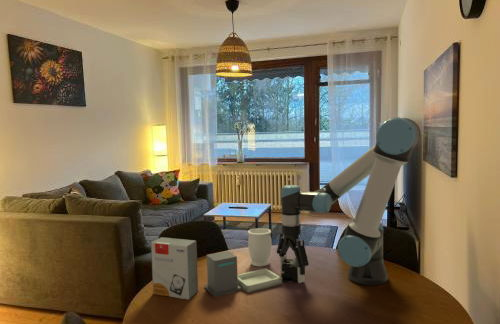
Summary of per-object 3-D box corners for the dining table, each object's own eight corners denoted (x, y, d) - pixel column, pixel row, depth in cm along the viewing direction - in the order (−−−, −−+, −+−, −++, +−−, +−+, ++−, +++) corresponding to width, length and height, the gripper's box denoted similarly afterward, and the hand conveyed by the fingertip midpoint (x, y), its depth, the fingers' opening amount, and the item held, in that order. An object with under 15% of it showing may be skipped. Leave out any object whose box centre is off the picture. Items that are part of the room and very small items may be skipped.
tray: (281, 283, 146) (281, 277, 145) (247, 292, 139) (247, 286, 138) (266, 273, 156) (266, 268, 156) (233, 281, 149) (233, 275, 149)
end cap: (300, 283, 146) (299, 266, 145) (281, 282, 148) (281, 265, 147) (302, 273, 156) (301, 257, 155) (285, 272, 157) (284, 256, 157)
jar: (257, 258, 176) (256, 226, 175) (276, 262, 170) (275, 229, 169) (244, 265, 167) (243, 232, 166) (263, 269, 161) (262, 235, 160)
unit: (241, 290, 141) (240, 256, 140) (214, 297, 136) (213, 262, 135) (230, 281, 150) (229, 249, 149) (204, 287, 145) (203, 254, 143)
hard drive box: (152, 294, 139) (149, 242, 138) (163, 286, 147) (161, 236, 145) (189, 300, 134) (186, 245, 132) (199, 291, 141) (197, 239, 140)
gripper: (317, 229, 141) (318, 285, 143) (282, 217, 162) (283, 265, 164) (301, 232, 137) (302, 289, 139) (267, 219, 158) (269, 269, 160)
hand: (292, 276), depth 151 cm, fingers closed on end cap, 12 cm apart
